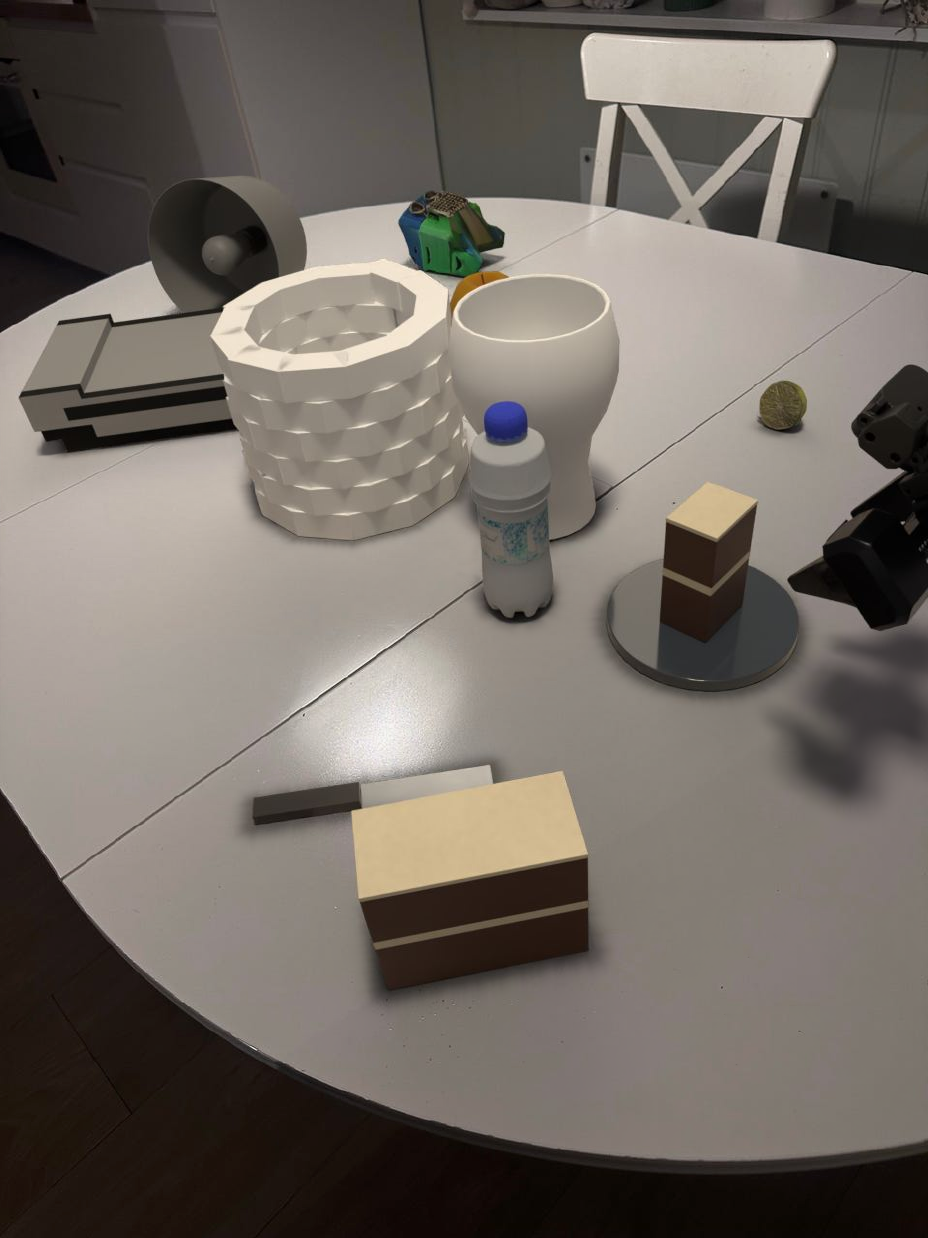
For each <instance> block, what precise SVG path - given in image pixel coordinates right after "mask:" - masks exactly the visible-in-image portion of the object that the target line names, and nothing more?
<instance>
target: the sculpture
mask: <svg viewBox="0 0 928 1238" xmlns="http://www.w3.org/2000/svg"><path fill="white" fill-rule="evenodd" d="M397 224H398V227H399V229H400V231H401V233H402V235H403V238H404V241H405V243H406V246H407V249H408V255H409V256H410V258H411V260H412V261H413V263H414V264H415V265H416V266H418V267H419V269H420V270H422V271H425V272H428V271H434V272H436V273H440V274H449V275H454V276H458V277H463V278H465V277H467V276H469V275H472V274H475V273H479V270H480V268H481V266H482V264H483V262H484V261H483V259H482V254H483V253H485V252H489V251H493V250H496V249H497V250H498V249H502V248H504V245H505V236H506V232H505V231H503V229H501V228H500V227H498V226H496V225H493V224H490V223H488V222H487V221H486V219H485V218H484V216H483V213H482V210H481V207H480V205H478V204H477V203H476V202H471V201H469V200H468V199H467V198H465V196H462V195H459V194H455V193H452V192H449V191H446V190H442V189H440V192H438V191H435V190H427V191H424V192H422V194H421V195H420V196H418V198H416V199H415V200H413V201H412V202H411V203H410V204H409V205H408V206H407V208H405V210H404V211H403V212H402V214H401V215H400V217H399V218H398V221H397Z"/></svg>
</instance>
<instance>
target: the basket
mask: <svg viewBox="0 0 928 1238" xmlns="http://www.w3.org/2000/svg"><path fill="white" fill-rule="evenodd" d="M449 290H450V289H448V288H447V287H446V286H444V285H443V284H441V283H440V282H438V281H437V280H436V279H434V278H433V277H432V276H430V275H428V274H427V273H425V272H424V270H422V269H419V270H416V269H413V268H410V267H408V266H405V265H402V264H400V263H397V262H394V261H392V260H389V259H387V258H381V259H378V260H376V261H370V262H359V263H357V262H356V263H347V264H345V263H344V264H334V265H333V264H332V265H319V266H314V267H310V268H307V269H304V270H303V271H299V272H296V273H293V274H289V275H286V276H282V277H279V278H276V279H272V280H269V281H265V282H262V283H260V284H259V285H257V286H255V287H254V288H252V289H251V290H249V291H247V292H246V293H244V294H242V295H241V296H239V297H237V298H236V299H234V300H233V301H231V302H229V303H228V304H226V305H224V306H223V309H224V310H223V312H222V314H221V316H220V318H219V320H218V322H217V324H216V326H215V328H214V330H213V332H212V334H211V335H210V337H211V341H212V344H213V348H214V351H215V354H216V358H217V361H218V364H219V366H220V367H221V369H222V370H223V371H224V379H225V380H223V382H224V386H225V389H226V392H227V396H228V397H226V400H227V403H228V406H229V410H230V413H231V416H232V420H233V423H234V425H235V426H236V427H237V429H236V430H238V432H239V437H240V438H239V440H240V442H241V443H240V444H241V447H242V449H243V450H241V452H242V455H243V459H244V462H245V465H246V468H247V471H248V475H249V477H250V478H251V480H252V481H253V484H254V485H253V486H254V489H255V490H254V493H255V496H256V499H257V502H258V506H259V509H260V512H261V515H262V516H263V517H265V518H267V519H268V520H270V521H272V522H274V524H277V525H278V526H280V527H282V528H284V530H287V531H288V532H290V533H292V534H293V535H295V536H297V537H305V538H317V539H330V540H341V541H342V540H343V541H357V540H360V539H361V540H362V539H365V538H368V537H373V536H376V535H380V534H384V533H390V532H392V531H396V530H402V529H405V528H409V527H413V526H415V525H416V524H417V523H419V522H421V521H422V520H423V519H425V518H427V517H429V515H431V514H432V513H434V512H435V511H437V510H438V509H440V508H441V507H443V506H444V505H446V504H447V503H448V502H450V501H452V500H453V499H455V498H456V495H457V493H458V491H459V488H460V486H461V485H462V482H463V479H464V477H465V474H466V472H467V470H468V468H469V466H470V463H469V462H470V461H469V452H468V444H467V443H468V442H467V439H465V437H464V424H463V423H464V421H463V417H464V416H465V415H464V413H463V411H462V408H461V406H460V404H459V401H458V399H457V397H456V395H455V392H454V390H453V386H452V378H451V369H450V361H449V342H450V334H451V320H452V318H451V309H450V301H451V298H450V291H449Z"/></svg>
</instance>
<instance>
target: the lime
mask: <svg viewBox="0 0 928 1238" xmlns="http://www.w3.org/2000/svg"><path fill="white" fill-rule="evenodd" d="M807 408H808V400H807V396H806V393H805V392H804V389H803V388H802V387H801V385H798V384H797V383H796V382H794V381H790V380H780V381H779V380H778V381H776V382H774V383H772V384H770V385H769V386H768V387H767V388H766V389H765V390H764V392H763V393H762V394H761V396H760V399H759V410H758V412H759V415H760V418H761V420H762V422H763V423H764V425H765V426H767V427H768V428H771V429H774V430H777V431H780V430H785V429H786V430H787V429H790V428H794V427H796V426H797V425H798V424H799V423H800V422H801V420H802V419H803V417H804V416H805V414H806V412H807V410H808V409H807Z"/></svg>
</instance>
